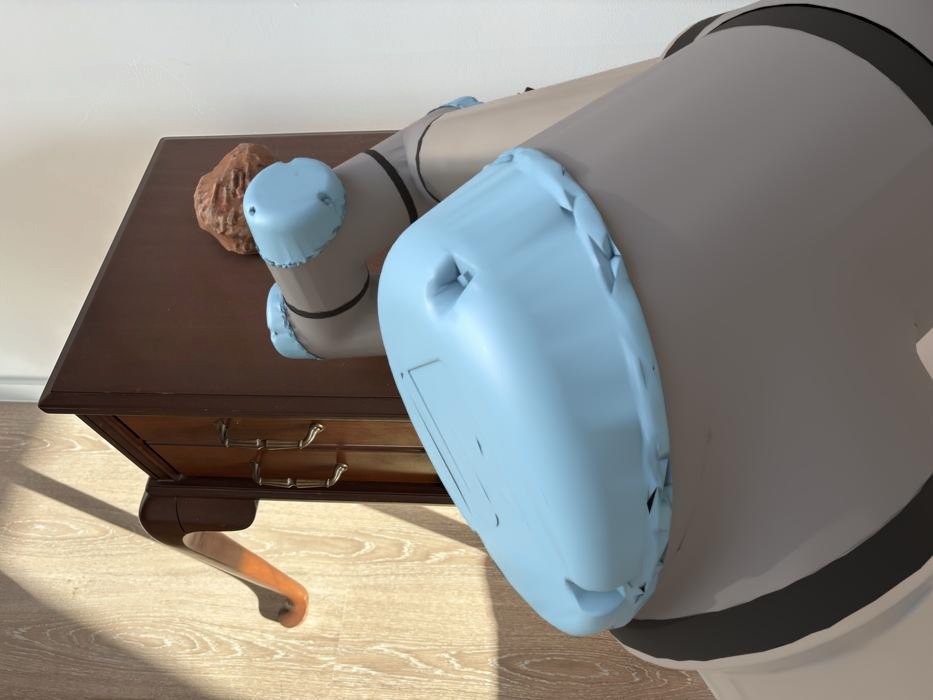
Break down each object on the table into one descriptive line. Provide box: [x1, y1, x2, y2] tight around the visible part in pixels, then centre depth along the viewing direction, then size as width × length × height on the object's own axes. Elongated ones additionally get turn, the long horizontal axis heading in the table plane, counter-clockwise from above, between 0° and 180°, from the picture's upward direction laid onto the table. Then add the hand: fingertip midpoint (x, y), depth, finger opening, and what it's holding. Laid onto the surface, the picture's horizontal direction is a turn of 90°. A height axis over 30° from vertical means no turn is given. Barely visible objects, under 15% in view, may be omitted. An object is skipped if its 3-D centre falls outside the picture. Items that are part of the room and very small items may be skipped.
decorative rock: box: [193, 142, 280, 256], centre depth 80 cm, size 13×11×10 cm
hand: (712, 296), depth 60 cm, fingers closed on switch lever, 4 cm apart
